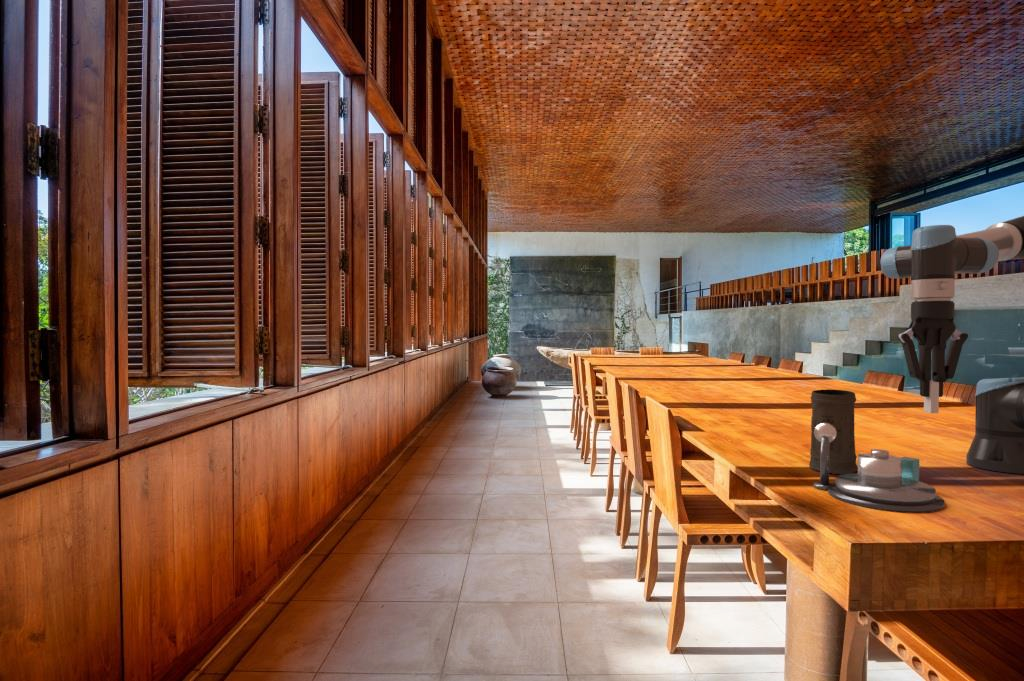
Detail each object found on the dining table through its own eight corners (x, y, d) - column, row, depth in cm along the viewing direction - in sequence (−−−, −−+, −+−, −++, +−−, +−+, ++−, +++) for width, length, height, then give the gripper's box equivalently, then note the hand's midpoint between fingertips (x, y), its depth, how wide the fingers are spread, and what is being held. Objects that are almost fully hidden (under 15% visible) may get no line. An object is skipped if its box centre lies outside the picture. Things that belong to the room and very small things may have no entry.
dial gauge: (815, 484, 138) (816, 420, 137) (837, 487, 135) (838, 422, 135) (811, 488, 134) (812, 423, 134) (833, 491, 132) (834, 425, 131)
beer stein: (856, 477, 144) (857, 394, 143) (806, 471, 149) (807, 391, 149) (858, 465, 157) (859, 388, 156) (813, 460, 163) (813, 386, 162)
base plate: (904, 484, 137) (904, 481, 137) (970, 513, 116) (970, 509, 116) (810, 483, 138) (810, 480, 138) (859, 512, 117) (859, 508, 117)
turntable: (909, 511, 115) (909, 479, 115) (818, 489, 130) (818, 461, 130) (959, 494, 126) (960, 465, 126) (870, 476, 142) (871, 450, 141)
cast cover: (888, 479, 131) (888, 447, 131) (910, 489, 123) (910, 455, 123) (850, 478, 132) (850, 446, 131) (869, 488, 124) (870, 454, 123)
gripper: (908, 300, 123) (906, 414, 124) (977, 299, 121) (976, 415, 122) (890, 301, 131) (889, 409, 131) (955, 300, 129) (954, 410, 130)
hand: (931, 412), depth 127 cm, fingers closed
